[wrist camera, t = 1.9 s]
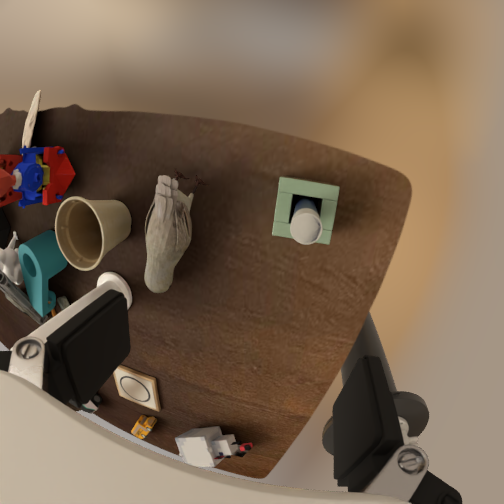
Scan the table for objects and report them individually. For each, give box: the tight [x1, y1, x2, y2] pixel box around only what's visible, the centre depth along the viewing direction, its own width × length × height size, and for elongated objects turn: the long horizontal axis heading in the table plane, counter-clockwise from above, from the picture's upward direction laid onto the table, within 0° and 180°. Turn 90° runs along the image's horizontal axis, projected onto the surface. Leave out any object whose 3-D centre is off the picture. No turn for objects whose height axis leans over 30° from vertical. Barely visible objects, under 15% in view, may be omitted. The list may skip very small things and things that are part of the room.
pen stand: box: [272, 176, 340, 245], centre depth 29 cm, size 6×6×5 cm
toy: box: [175, 426, 253, 467], centre depth 43 cm, size 12×17×15 cm
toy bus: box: [131, 415, 157, 439], centre depth 50 cm, size 3×10×4 cm
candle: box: [10, 272, 132, 351], centre depth 29 cm, size 7×7×25 cm
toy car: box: [80, 394, 102, 414], centre depth 51 cm, size 6×12×5 cm, turn 43°
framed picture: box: [113, 365, 161, 411], centre depth 47 cm, size 10×10×1 cm
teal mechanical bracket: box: [18, 230, 67, 317], centre depth 40 cm, size 7×15×8 cm
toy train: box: [0, 146, 75, 208], centre depth 30 cm, size 10×16×15 cm, turn 82°
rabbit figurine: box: [0, 231, 24, 285], centre depth 40 cm, size 12×8×10 cm, turn 164°
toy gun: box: [0, 270, 48, 325], centre depth 40 cm, size 4×21×15 cm
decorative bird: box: [145, 169, 206, 293], centre depth 32 cm, size 5×16×8 cm, turn 162°
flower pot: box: [55, 196, 132, 271], centre depth 33 cm, size 9×9×9 cm
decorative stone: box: [22, 90, 41, 155], centre depth 33 cm, size 8×14×2 cm, turn 174°
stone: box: [57, 296, 70, 311], centre depth 45 cm, size 12×2×5 cm
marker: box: [290, 196, 323, 245], centre depth 25 cm, size 2×2×13 cm
